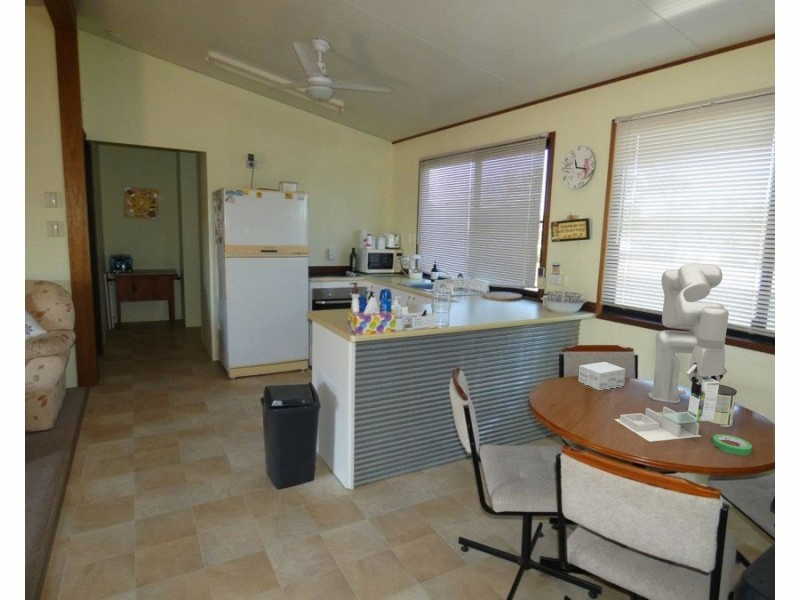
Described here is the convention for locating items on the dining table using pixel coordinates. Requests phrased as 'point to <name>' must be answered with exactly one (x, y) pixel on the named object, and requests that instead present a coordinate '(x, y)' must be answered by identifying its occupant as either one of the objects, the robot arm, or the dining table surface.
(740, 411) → the dining table surface
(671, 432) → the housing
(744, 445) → the tape roll
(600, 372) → the supplement box
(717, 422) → the coffee can
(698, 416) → the syrup box
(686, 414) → the lid
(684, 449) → the dining table surface
